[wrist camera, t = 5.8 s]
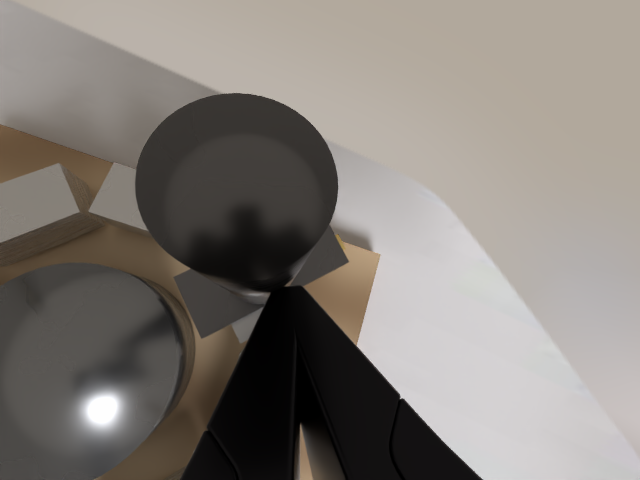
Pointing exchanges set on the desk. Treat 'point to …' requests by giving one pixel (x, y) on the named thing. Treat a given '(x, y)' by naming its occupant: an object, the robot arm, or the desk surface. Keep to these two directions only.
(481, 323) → the desk surface
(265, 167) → the block ring with rod
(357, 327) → the oak board
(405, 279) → the desk surface
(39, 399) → the grey metal puck
